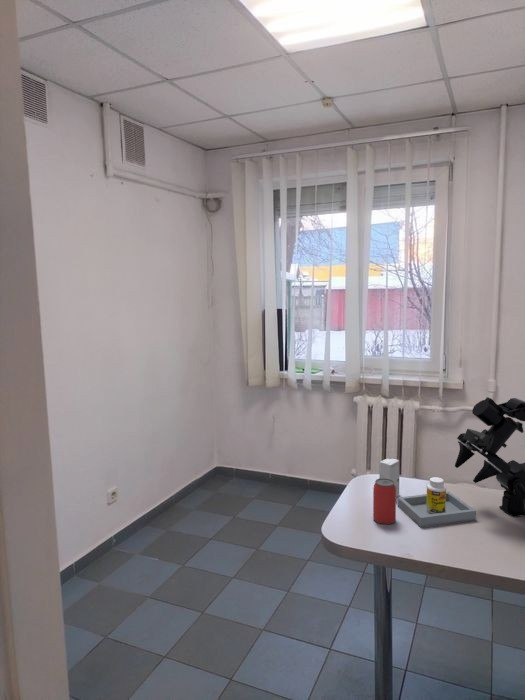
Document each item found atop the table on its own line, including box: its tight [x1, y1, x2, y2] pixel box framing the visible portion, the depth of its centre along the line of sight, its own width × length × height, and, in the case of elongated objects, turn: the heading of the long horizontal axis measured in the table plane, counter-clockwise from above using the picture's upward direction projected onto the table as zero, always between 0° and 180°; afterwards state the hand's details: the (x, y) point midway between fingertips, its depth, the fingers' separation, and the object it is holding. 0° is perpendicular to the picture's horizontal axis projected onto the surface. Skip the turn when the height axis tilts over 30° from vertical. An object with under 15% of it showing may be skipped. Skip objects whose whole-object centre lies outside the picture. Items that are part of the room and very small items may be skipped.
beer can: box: [372, 478, 397, 525], centre depth 145 cm, size 7×7×12 cm
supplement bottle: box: [426, 476, 447, 514], centre depth 149 cm, size 6×6×10 cm
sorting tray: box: [397, 491, 477, 529], centre depth 149 cm, size 18×14×3 cm
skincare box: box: [378, 457, 400, 498], centre depth 162 cm, size 6×4×12 cm
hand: (464, 474), depth 147 cm, fingers open, 9 cm apart
